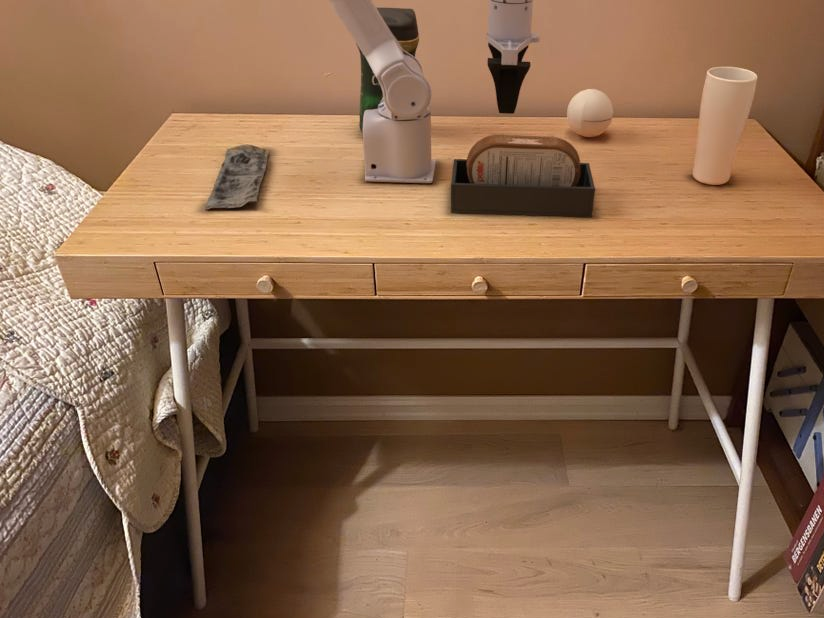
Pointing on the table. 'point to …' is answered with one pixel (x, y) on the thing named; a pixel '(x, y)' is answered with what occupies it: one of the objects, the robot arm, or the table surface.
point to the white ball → (590, 112)
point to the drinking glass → (722, 122)
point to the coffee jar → (408, 38)
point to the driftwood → (239, 177)
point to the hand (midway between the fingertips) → (506, 103)
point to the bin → (521, 196)
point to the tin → (523, 161)
